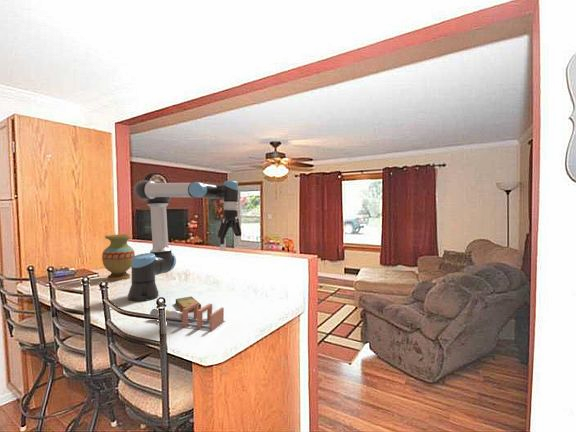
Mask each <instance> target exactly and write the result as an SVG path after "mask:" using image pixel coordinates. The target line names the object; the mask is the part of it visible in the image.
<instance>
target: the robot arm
mask: <svg viewBox="0 0 576 432" xmlns="http://www.w3.org/2000/svg"><path fill="white" fill-rule="evenodd" d="M134 194H135V196H136V197H137V199H139V200H141V201H145V202H146V203H147V206H148V207H149V208H150V209H149V210H150V222H151V223H150V224H151V239H152V241H151V242H152V243H151V244H152V249H151V250H150V251H149V252H147V253H139V254H135V256H134V257H133V258H132V264H131V285H130V287H129V291H128V293H127V300H128V301H132V302H143V301H150V300H151V301H152V300H154V299H156V298H158V297H159V290H158V288H157V284H156V276H159V275H161V274H167V273H168V272H171V271H172V270H173V269H174V268H175V267H176V264H177V258H176V255H175V254H174V253H173V252H172V249H171V248H170V247H169V234H168V233H169V232H168V217H167V216H168V215H167V207H168V205H170V204H169V201H171V199H172V198H201V199H202V198H204V199H208V200H209V199H210V200H212V199H214V200H215V199H219V200H220V199H223V209H224V210H223V213H222V214H223V217H224V218H221V222H220V223H221V224H220V225H219V229H218V234H217V238H219V240H220V241H219V243H220V249H219V250H220V251H221V252H222V251H226V249H227V241H226V240H227V237H226V236H227V233H228V231H229V229H230V228H231V229H232V231H233V234H234V236H233V248H235V249H239V248H240V237H241V236H242V229H241V227H240V226H241V225H240V220H239V218H238V215H239V213H238V207H239V206H238V205H239V203H238V201H239V200H238V199H239V183H238V181H236V180H225V181H224V182H223V184H213V183H205V182H201V181H195V182H162V181H154V180H147V179H146V180H145V179H144V180H143V179H142V180H140V181H138V182H137V183H136V184H135V186H134Z"/></svg>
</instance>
